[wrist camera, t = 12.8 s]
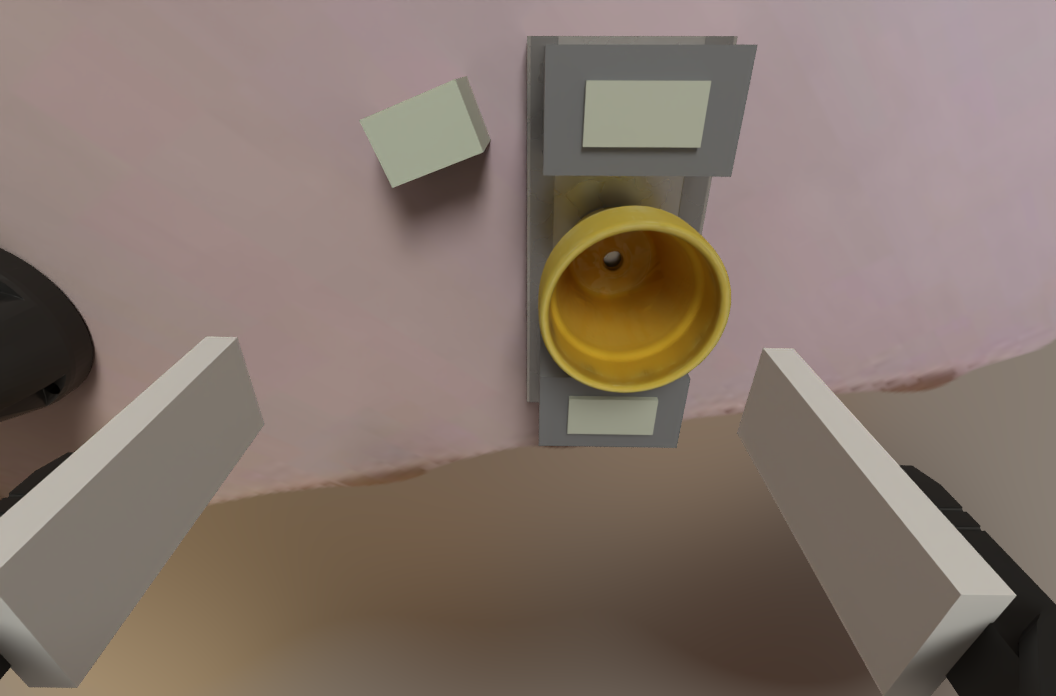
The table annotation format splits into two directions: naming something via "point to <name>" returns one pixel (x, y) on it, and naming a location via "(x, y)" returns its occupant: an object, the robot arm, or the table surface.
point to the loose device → (427, 132)
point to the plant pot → (632, 299)
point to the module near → (643, 109)
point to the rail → (589, 184)
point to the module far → (606, 411)
